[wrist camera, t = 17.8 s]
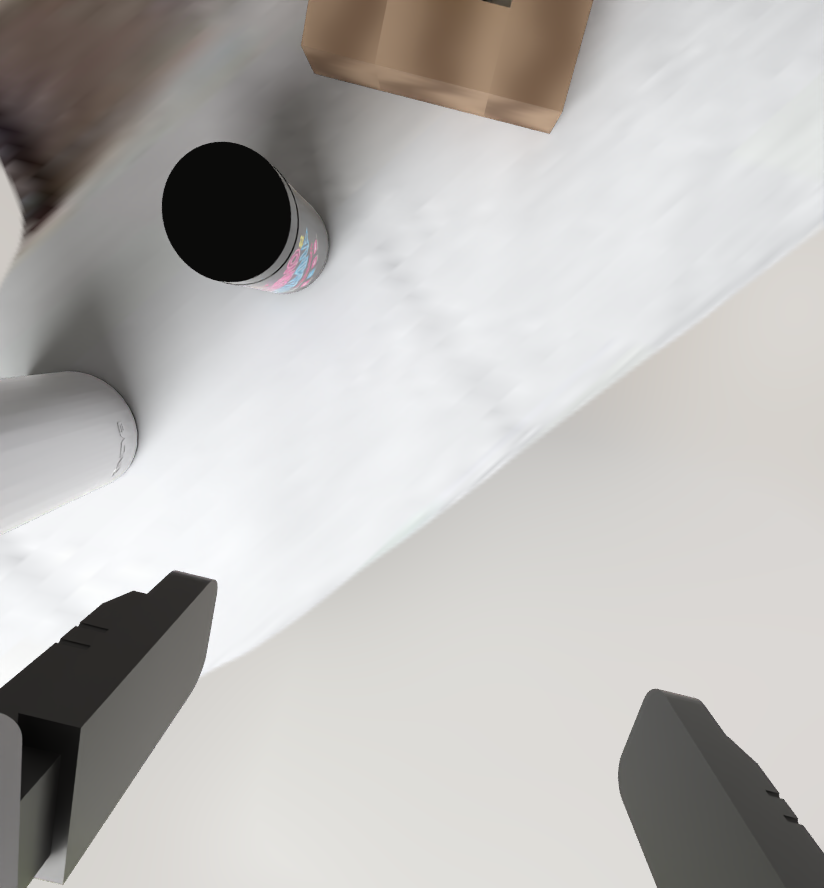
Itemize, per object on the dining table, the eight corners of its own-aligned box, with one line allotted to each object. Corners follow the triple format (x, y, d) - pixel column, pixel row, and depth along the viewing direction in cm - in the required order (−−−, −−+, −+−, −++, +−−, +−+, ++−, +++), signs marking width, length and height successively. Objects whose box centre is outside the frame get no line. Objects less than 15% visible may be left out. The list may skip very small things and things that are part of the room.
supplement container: (233, 288, 37) (159, 273, 27) (239, 187, 36) (163, 132, 26) (326, 301, 37) (286, 291, 27) (336, 201, 36) (297, 150, 26)
